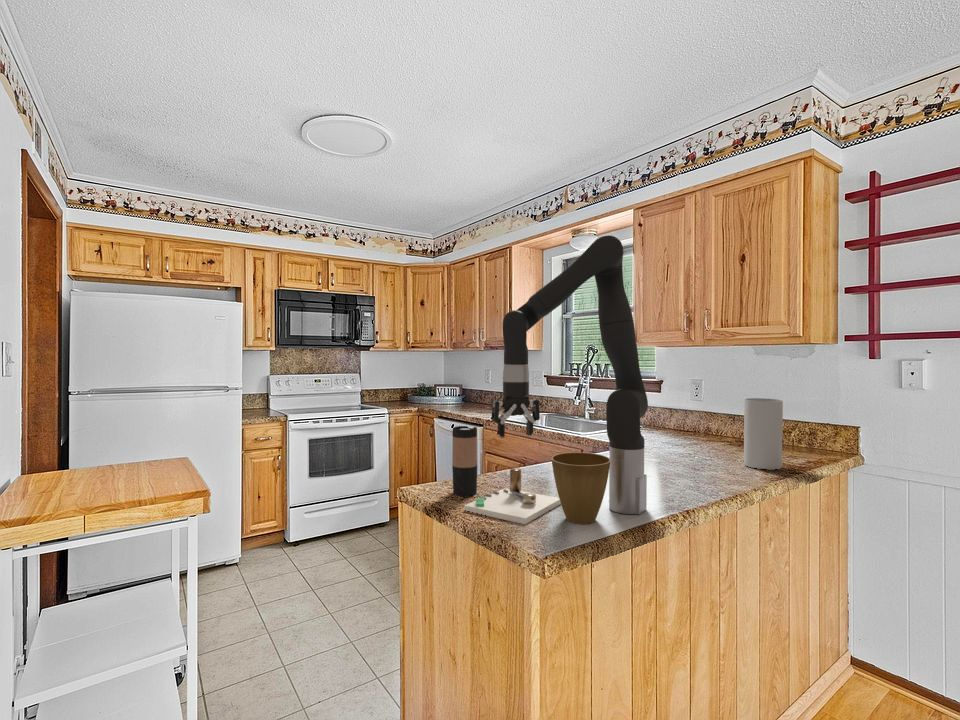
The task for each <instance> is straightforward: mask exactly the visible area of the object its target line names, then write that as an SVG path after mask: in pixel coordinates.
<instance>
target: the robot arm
mask: <svg viewBox="0 0 960 720" xmlns="http://www.w3.org/2000/svg"><path fill="white" fill-rule="evenodd" d="M623 258H624V247H623V243H622V241H621V240H620V239H619V238H618V237H616V236H613V235H611V234H606V235H602V236H599V237H598V238H596V239H595V240H594V241H593V242H592V243H591V244H590V245H589V246H588V247H587V248H586V250H584V251H583V252H582V253H581V255H580V256H579V257H578V258H577V259H576V260H574V261H573V263H572V264H570V265H569V266H568V267H567V268H566V269H564V271H562V272H561V273H559V274H558V275H557V276H555V277H554V278H553V279H552V280H550V281H549V282H548V283H547V284H545V285H544V286H542V287H541V288H540V289H538V290H537V291H536V292H534V294H532V295H531V296H530V297H529V298H528V300H527V301H526V302H525V303H524V304H523V305H521V306H519V308H517V309H516V310H515V309H514V310H510V311H508V312H507V313H506V314H505V315H504V317H503V319H502V338H503V345H504V346H503V347H504V349H503V369H502V370H503V371H502V401H500V400H499V401H497V400H492V404H491V422H494V423H496V424H497V434H498V435H499V437H500V438H505V437H506V436H505V435H506V434H505V432H506V431H505V430H506V426H505V425H506V424H505V422H506V421H507V420H508V419H509V418H510V417H511V416H512V417H514V416H523V417H524V419H525V420H526V422H525V423H526V425H525V428H526V429H525V434H526V436H527V437H528V436H529V437H530V436H531V437H532V434H533V433H534V423H535V422H536V421H539V420H540V418H541V416H540V414H541V413H540V401H539V400H538V399H535V398H533V399H529V395H530V369H529V347H528V345H527V344H528V343H527V341H528V340H527V338H528V333H527V332H528V331H529V330H531V329H532V328H533V327H534V326H535V325H536V324H537V323H538V322H539V321H540V320H542V319H543V318H544V317H546V316H547V315H549V314H550V313H552V312H553V311H555V310H556V309H557V308H559V307H560V306H561V305H562V304H563V303H565V302H566V300H568V299H569V298H570V296H572V295H573V294H574V293H575V292H576V291H577V290H578V289H580V287H581V286H582V285H583V284H585V282H587V281H588V280H589V279H591V278H593V277H594V279H595V284H596V288H597V297H598V300H597V301H598V302H597V305H598V311H597V313H598V324H599V325H598V326H599V332H600V338H601V342H602V347H603V349H604V352H605V354H606V357H607V358H608V361H609V362H610V365H611V367H612V369H613V372H614V378H615V379H614V381H615V387H616V389H615V390H614V391H613V392H611V393H610V394H609V396H608V397H607V400H606V409H605V414H606V415H605V417H606V420H605V421H606V434H607V437H608V441H609V442H608V443H609V446H608V447H609V448H608V449H609V454H608V455H609V457H608V458H609V459H610V468H609V474H608V481H609V483H608V484H609V485H608V486H609V487H608V494H609V495H608V496H609V499H608V505H609V506H608V507H609V510H610V511H612V512H614V513H618V514H624V515H638V514H639V515H642V514H643V513H644V512H645V511H646V510H647V500H648V499H647V497H648V496H647V495H648V494H647V487H648V486H647V483H648V482H647V479H648V477H647V476H648V475H647V474H645V437H644V436H643V435H642V433H641V419H642V418H643V417H644V416H645V415H646V413H647V412H648V406H649V400H648V396H647V393H646V389H645V385H644V380H643V378H642V372H641V368H640V361H639V360H640V359H639V353H638V352H639V351H638V350H639V349H638V345H637V336H636V330H635V322H634V317H633V313H632V308H631V306H630V302H629V299H628V296H627V293H626V289H625V285H624V273H623V260H624V259H623ZM529 406H530V407H531V413H530V411H529V409H528V408H529ZM501 407H503V410H502V411H501V413H500V409H501Z"/></svg>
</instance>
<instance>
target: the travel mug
mask: <svg viewBox="0 0 960 720" xmlns="http://www.w3.org/2000/svg"><path fill="white" fill-rule="evenodd" d="M451 453H452V459H451V460H452V466H451V467H452V468H451V469H452V492H453V495H454V494H456V495H461V496H460V497H472V496H471V495H473V496H476V495H477V492H478V491H477V489H478V428H477V427H476V426H474V427H472V428H471V427H469V426H467V425H461V426H460V425H459V426H454V427H452V452H451ZM456 495H455V496H456Z"/></svg>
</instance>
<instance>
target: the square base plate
mask: <svg viewBox="0 0 960 720" xmlns="http://www.w3.org/2000/svg"><path fill="white" fill-rule="evenodd" d="M520 492H522V493H523V494H525V493H530V492H528V491H523V490H521V491H520ZM531 493H532V494H535V495H536V503H535V504H525V503H523V499H521V498H519V497H518V496H516V495H515V494H513V493H512V492H510V488H507V487H506V488H505V487H504V488H503V489H500V490H493V491H492V493H491V494H490V493H484V496H478V497H477V498H476V500H474V501H471V502H470V503H466V504H465V505H464V504H463V505H464V510H466V511H465V512H467V511H470V512H469V513H472V512H474V513H473V514H476V513H478V515H481V514H482V515H481V516H485V515H486V516H485V517H490V518H494V519H500V520H505V521H507V522H508V521H509V522H512V523H513V522H514V523H518V524H523V525H527V524H529V523H531V522H532V521H534V520H535V519H538V518H539V517H540V516H542V515H545V514H546V513H548V512H550V511H551V510H553V509H554V508H557V507H558V506H560V505H561V502H560V499H559V497H556V496H551V495H546V494H540V493H534V492H531ZM549 510H550V511H549Z"/></svg>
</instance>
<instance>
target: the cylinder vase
mask: <svg viewBox="0 0 960 720" xmlns="http://www.w3.org/2000/svg"><path fill="white" fill-rule="evenodd" d="M743 401H744V402H743V403H744V404H743V405H744V406H743V409H744V411H743V414H744V415H743V416H744V417H743V419H744V420H743V425H744V426H743V465H744V466H746V467H747V466H748V467H747V468H750V467H751V469H754V468H757V469H756V470H760V469H767V470H766V471H776V470H775V469H778V470H781V469H782V467H783V429H784V428H783V425H784V423H783V421H784V420H783V415H784V413H783V408H784V400H782V399H777V398H776V399H775V398H761V397H760V398H759V397H758V398H757V397H754V398H753V397H752V398H744V399H743Z"/></svg>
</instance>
